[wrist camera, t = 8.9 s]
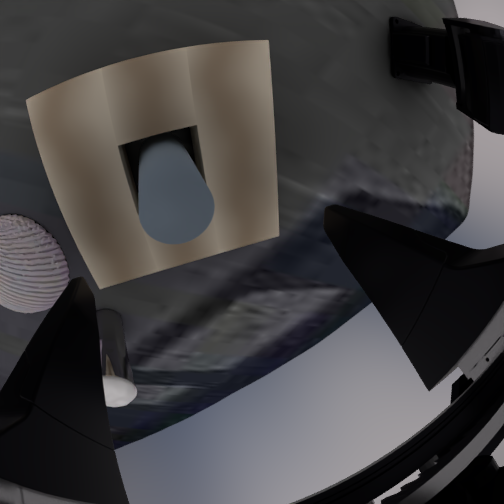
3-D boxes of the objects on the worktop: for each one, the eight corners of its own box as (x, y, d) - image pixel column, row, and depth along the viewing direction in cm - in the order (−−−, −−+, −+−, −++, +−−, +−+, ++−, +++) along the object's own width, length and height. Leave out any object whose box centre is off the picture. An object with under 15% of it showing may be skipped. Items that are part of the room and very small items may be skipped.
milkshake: (77, 329, 24) (76, 418, 16) (95, 297, 22) (94, 395, 15) (114, 343, 26) (123, 427, 19) (136, 313, 25) (149, 406, 18)
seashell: (-25, 202, 11) (72, 291, 16) (11, 182, 16) (92, 255, 20) (-48, 293, 12) (31, 361, 17) (-21, 264, 17) (48, 322, 22)
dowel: (180, 126, 17) (208, 166, 11) (187, 168, 19) (219, 232, 13) (134, 139, 17) (129, 187, 10) (145, 180, 19) (150, 252, 12)
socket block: (247, 44, 15) (268, 40, 12) (261, 214, 24) (279, 235, 21) (44, 94, 12) (25, 100, 9) (102, 260, 21) (99, 289, 18)
